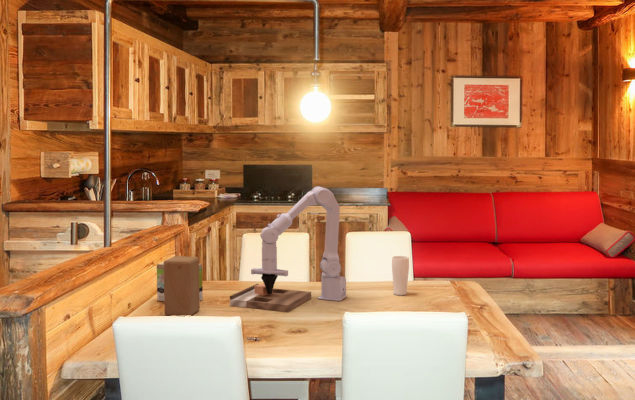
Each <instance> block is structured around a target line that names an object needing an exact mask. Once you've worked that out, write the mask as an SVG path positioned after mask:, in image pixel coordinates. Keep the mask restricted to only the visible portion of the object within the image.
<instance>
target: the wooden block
mask: <svg viewBox="0 0 635 400" xmlns="http://www.w3.org/2000/svg"><path fill="white" fill-rule="evenodd" d="M162 263H163V266H164V301H163V302H164V305H163V306H164V315H165V316H167V315H191V316H192V315H194V314H196V313H197V312H199V310H200V309H201V307H200V306H201V305H200V296H199V264H200V259H199V257H197V256H183V255H182V256H181V255H179V256H178V255H175V256H172V257H170V258H168V259H165V260H163V262H162Z"/></svg>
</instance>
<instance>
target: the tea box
mask: <svg viewBox="0 0 635 400" xmlns="http://www.w3.org/2000/svg"><path fill="white" fill-rule="evenodd" d="M163 263H164V262H162V263H157V264H156V287H157V288H156V292H157V301H160V302H164V266H163ZM203 292H204V291H203V264H202V263H199V296H200V301H203V297H204V296H203V295H204V293H203Z"/></svg>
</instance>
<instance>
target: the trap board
mask: <svg viewBox="0 0 635 400" xmlns="http://www.w3.org/2000/svg"><path fill="white" fill-rule="evenodd" d="M256 285H260V284H259V283H256V284H253V285H251V286H249V287H247V288H244V289H242V290H240V291H238V292H235V293H234V294H232V295H230V296H229V307H235V308H236V307H238V308H247V309H254V310H256V309H257V310H264V311H275V312H283V313H289V312H292V310H294V309H296V308H297V307H299V306H301V305H303V304H304V303H307V301H309V300H310V298H311V299H312V291H306V290H305V291H303V290H295V289H283V288H274V287H273V293H271V294H267V295H259V294H255V288H254V286H256Z"/></svg>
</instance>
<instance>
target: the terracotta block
mask: <svg viewBox="0 0 635 400" xmlns="http://www.w3.org/2000/svg"><path fill="white" fill-rule="evenodd" d="M254 288H255V294H259V295H267V290H266V287H265V284H264V283H260V284H259V285H256V286H254ZM272 293H273V291H272Z"/></svg>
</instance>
